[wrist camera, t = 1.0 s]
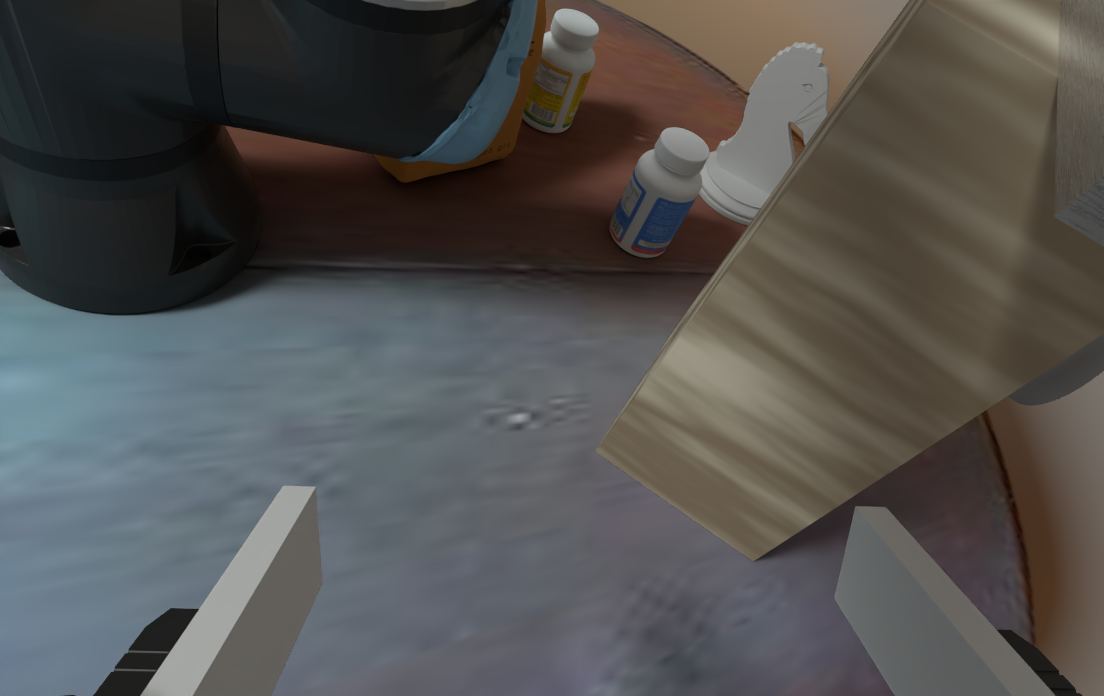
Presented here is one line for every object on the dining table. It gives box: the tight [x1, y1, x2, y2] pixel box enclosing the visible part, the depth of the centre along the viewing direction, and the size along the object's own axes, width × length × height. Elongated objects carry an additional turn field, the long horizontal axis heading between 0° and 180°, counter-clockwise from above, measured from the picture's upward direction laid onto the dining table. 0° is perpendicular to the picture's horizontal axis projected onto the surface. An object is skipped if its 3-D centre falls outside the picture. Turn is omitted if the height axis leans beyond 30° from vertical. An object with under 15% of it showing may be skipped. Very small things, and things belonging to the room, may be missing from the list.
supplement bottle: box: [522, 9, 599, 133], centre depth 61 cm, size 5×5×10 cm
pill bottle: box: [609, 127, 709, 258], centre depth 54 cm, size 6×5×10 cm
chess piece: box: [699, 42, 829, 226], centre depth 61 cm, size 10×10×15 cm
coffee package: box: [373, 0, 546, 182], centre depth 48 cm, size 10×12×22 cm
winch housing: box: [595, 0, 1104, 561], centre depth 36 cm, size 14×16×30 cm
